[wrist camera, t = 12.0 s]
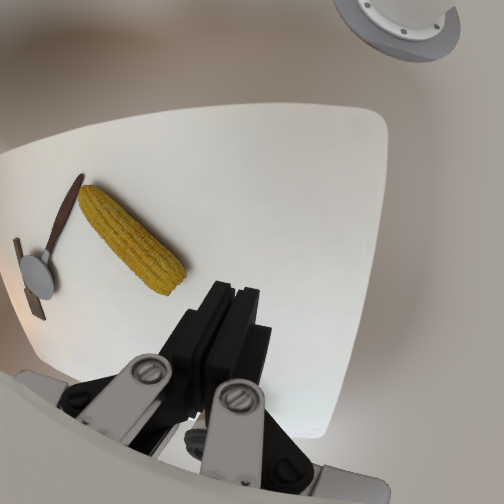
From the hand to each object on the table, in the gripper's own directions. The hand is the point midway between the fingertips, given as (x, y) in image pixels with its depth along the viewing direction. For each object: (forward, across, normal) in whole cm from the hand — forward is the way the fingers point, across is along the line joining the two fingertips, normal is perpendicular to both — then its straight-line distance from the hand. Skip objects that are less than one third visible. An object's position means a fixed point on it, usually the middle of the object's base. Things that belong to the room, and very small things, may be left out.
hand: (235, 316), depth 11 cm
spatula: (+24, +57, +28) cm, 68 cm away
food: (+25, +21, +10) cm, 35 cm away
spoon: (+25, +42, +15) cm, 51 cm away
